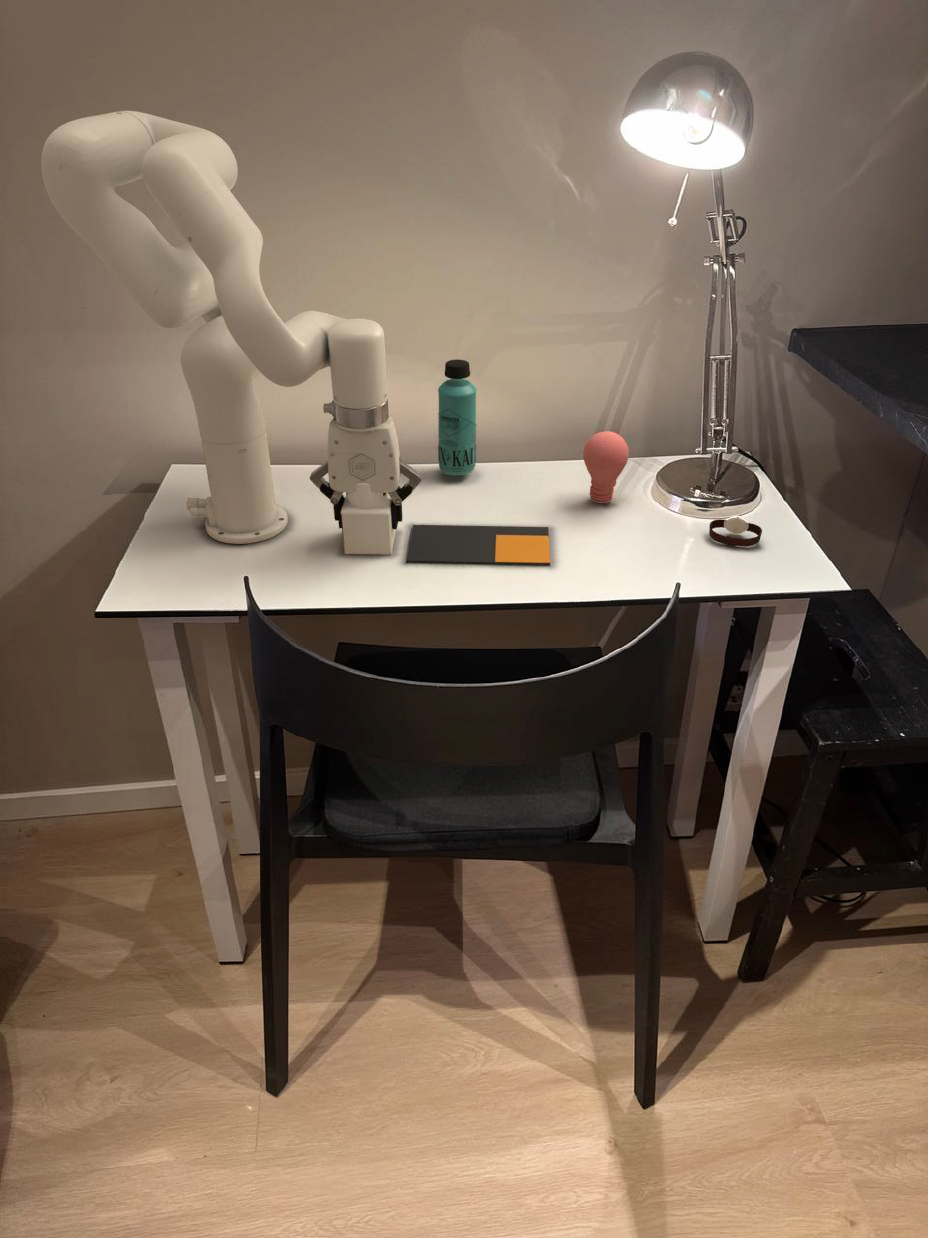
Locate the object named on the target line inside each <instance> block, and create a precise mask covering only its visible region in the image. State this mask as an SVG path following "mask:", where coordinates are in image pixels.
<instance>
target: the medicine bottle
mask: <svg viewBox="0 0 928 1238" xmlns="http://www.w3.org/2000/svg"><path fill="white" fill-rule="evenodd" d="M344 497H345V500H344V503H343V507H342V510H341V523H342V528H341V532H342V533H341V534H342V544H343V553H344V554H345V555H381V556H385V555H388V556H389V555H392V554H393V549H394V543H395V538H396V533H397V529H393V528H392V520H391V503H392V499H391V497H390V496H389V494H388V493H374V492H371V487H370V484H367V483H358V484H356V492H345V496H344Z"/></svg>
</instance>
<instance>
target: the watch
mask: <svg viewBox="0 0 928 1238" xmlns="http://www.w3.org/2000/svg"><path fill="white" fill-rule="evenodd" d="M708 528H709V529H708V530H709V531H708V534H709V536H710V538H711V539H712V540H713V541H715V542H717V543H719V544H722V545H726V546H730V547H745V548H746V547H752V546H755V545H757V544H758V543H760V541H761V537H762V533H763V529H762V528H761V526H759V525H758V524H755V523H751V522H748V521H747V520H746V519H745V518H744V517H743V516H740V515H732V516H730V517H728V518H727V519H726V518H725V519H722V518H720V519H713V520H712V521H710V522H709V527H708ZM717 528H721V529H722V528H723V529H726V530H727V531H728V532H729V533H732V534H736V535H737V534H742V533H745V532H750V533H753V534H755V535H757V536H755V537H754V536H753V537H750V538H748V537H747V538H740V537H733V536H731V535H723V534H721V533H718V532H716V531H715V530H713V529H717Z"/></svg>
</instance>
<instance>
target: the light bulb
mask: <svg viewBox="0 0 928 1238" xmlns="http://www.w3.org/2000/svg"><path fill="white" fill-rule="evenodd" d="M582 453H583V455H582V458H583V461H584V462H583V463H584V465H585V467H586V470H587V472H588V474H589V476H590V478H591V479H590V484H591V485H590V487H589V498H590V499H591V501H592V502H595V503H599V504H606V503H609V502H612V501H613V497H614V493H615V487H616V485H617V480H618V477H619V476H620V475H621V474H622V473H623V470H624V469H625V467H626V466H627V463H628V461H629V456H630V449H629V446H628V443H627V442H626V440H625V439H624V438H623V437H622V436H621V435H620V434H618V433H616V432H614V431H608V430H607V431H606V430H605V431H600V432H597V433H595V434H594V435H592V436H591V437H590V438H589V439H588V440H587V441H586V443H585V445H584V447H583V452H582Z"/></svg>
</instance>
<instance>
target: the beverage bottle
mask: <svg viewBox="0 0 928 1238" xmlns="http://www.w3.org/2000/svg"><path fill="white" fill-rule="evenodd" d="M470 369H471V368H470V362H469V361H467V360H465V359H457V358H456V359H450V360H447V361H446V362H445V364H444V376H445V377H446V378H448V379H447V380H445V381H444V382H442V383H441V385H439V386H438V388H437V392H438V425H437V429H438V435H437V439H438V445H437V459H438V460H437V462H438V468H439V469H440V471H441V473H444V474H446V475H449V476H464V475H467V474H470V473H472V472H473V471H474V470H475V468H476V463H477V462H476V461H477V455H476V449H477V427H478V425H477V422H476V419H477V387H476V386H475V385H474V384H473V383H472V382H471V381H469V380H467V378H469V377H470V376H471V370H470Z"/></svg>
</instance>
